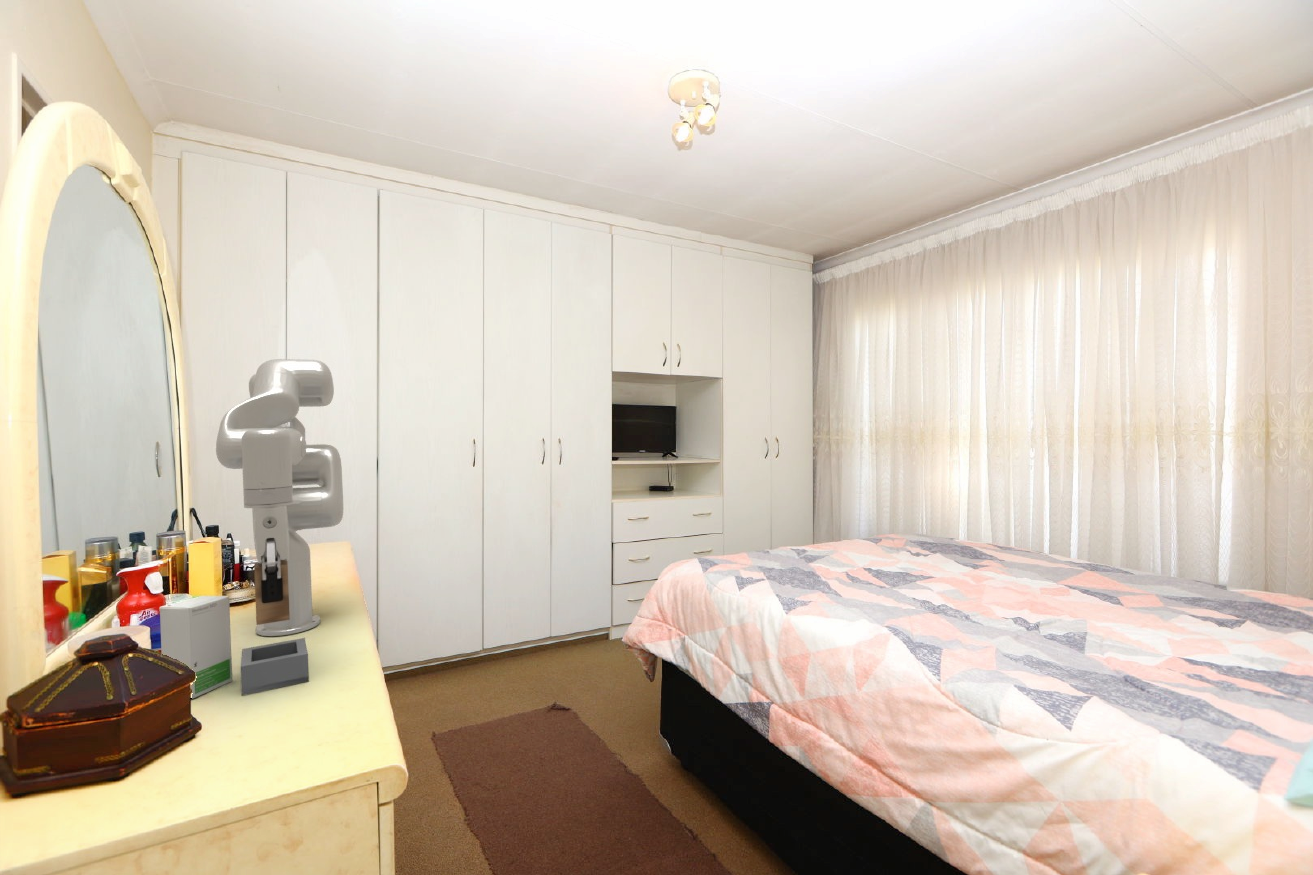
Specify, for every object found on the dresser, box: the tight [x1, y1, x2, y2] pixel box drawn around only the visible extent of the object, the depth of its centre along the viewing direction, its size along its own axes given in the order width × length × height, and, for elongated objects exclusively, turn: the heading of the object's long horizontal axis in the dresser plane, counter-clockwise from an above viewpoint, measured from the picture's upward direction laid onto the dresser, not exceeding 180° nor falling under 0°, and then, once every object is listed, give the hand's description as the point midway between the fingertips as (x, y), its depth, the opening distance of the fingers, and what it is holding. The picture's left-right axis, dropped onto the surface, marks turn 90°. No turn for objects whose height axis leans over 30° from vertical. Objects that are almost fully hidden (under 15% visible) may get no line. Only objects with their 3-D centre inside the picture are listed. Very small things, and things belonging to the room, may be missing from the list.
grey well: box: [240, 637, 310, 697], centre depth 112 cm, size 10×10×5 cm
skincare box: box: [159, 595, 233, 700], centre depth 108 cm, size 8×7×16 cm
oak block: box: [253, 560, 290, 626], centre depth 111 cm, size 5×5×10 cm
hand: (272, 597), depth 111 cm, fingers closed on oak block, 5 cm apart
